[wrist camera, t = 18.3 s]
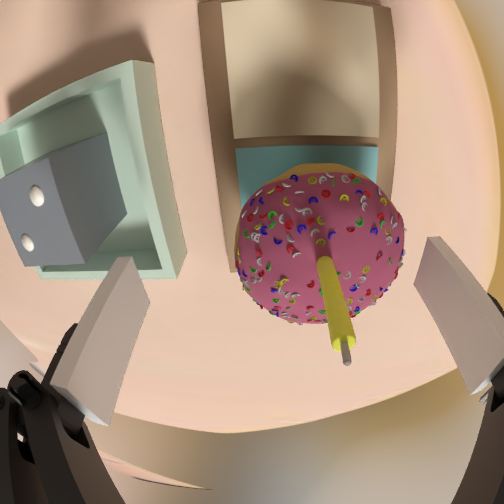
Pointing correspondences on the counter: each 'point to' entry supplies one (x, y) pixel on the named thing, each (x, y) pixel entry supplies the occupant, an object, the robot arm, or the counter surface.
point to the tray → (125, 160)
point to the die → (63, 203)
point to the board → (297, 92)
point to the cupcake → (319, 247)
